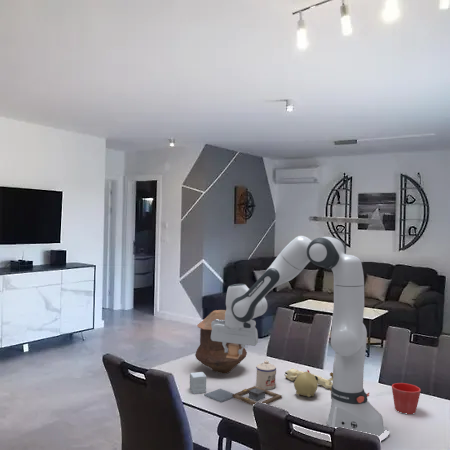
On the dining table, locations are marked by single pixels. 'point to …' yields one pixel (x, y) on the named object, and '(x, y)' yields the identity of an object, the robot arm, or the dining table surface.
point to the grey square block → (257, 394)
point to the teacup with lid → (265, 375)
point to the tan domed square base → (233, 351)
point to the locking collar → (247, 400)
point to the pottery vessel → (215, 347)
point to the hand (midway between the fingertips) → (233, 353)
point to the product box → (197, 382)
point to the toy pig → (306, 384)
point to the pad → (219, 395)
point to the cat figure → (294, 373)
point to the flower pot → (405, 397)
